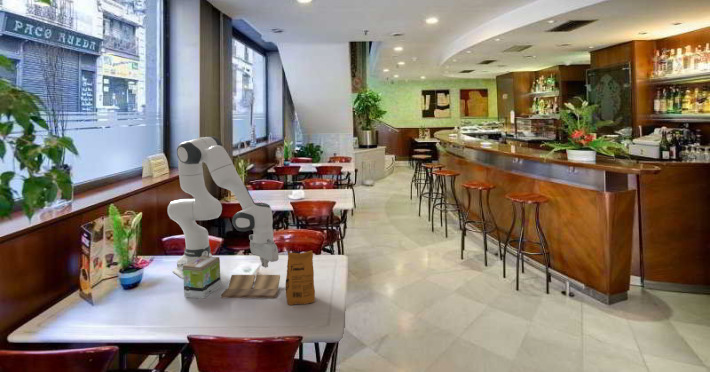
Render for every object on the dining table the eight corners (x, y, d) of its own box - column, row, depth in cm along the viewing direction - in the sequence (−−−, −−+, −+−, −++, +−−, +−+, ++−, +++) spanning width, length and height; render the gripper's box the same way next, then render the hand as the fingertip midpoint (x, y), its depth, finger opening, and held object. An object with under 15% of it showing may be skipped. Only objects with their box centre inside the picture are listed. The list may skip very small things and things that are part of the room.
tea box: (204, 299, 185) (202, 267, 183) (183, 297, 187) (181, 265, 185) (221, 286, 199) (219, 256, 197) (202, 284, 201) (200, 255, 199)
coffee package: (285, 297, 186) (284, 249, 183) (313, 294, 189) (312, 247, 185) (286, 306, 177) (284, 256, 173) (315, 304, 179) (314, 254, 175)
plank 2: (253, 290, 194) (253, 289, 193) (257, 276, 200) (256, 274, 199) (277, 290, 193) (277, 289, 193) (280, 276, 199) (279, 274, 199)
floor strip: (221, 297, 186) (220, 295, 186) (226, 291, 193) (226, 288, 193) (274, 297, 185) (274, 295, 185) (278, 291, 192) (278, 289, 192)
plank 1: (228, 290, 194) (227, 288, 193) (232, 276, 200) (231, 274, 199) (251, 290, 194) (251, 289, 193) (255, 276, 200) (254, 274, 199)
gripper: (281, 240, 189) (282, 270, 190) (259, 233, 204) (260, 260, 206) (268, 243, 185) (270, 273, 186) (247, 235, 200) (248, 263, 202)
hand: (264, 266), depth 196 cm, fingers closed
